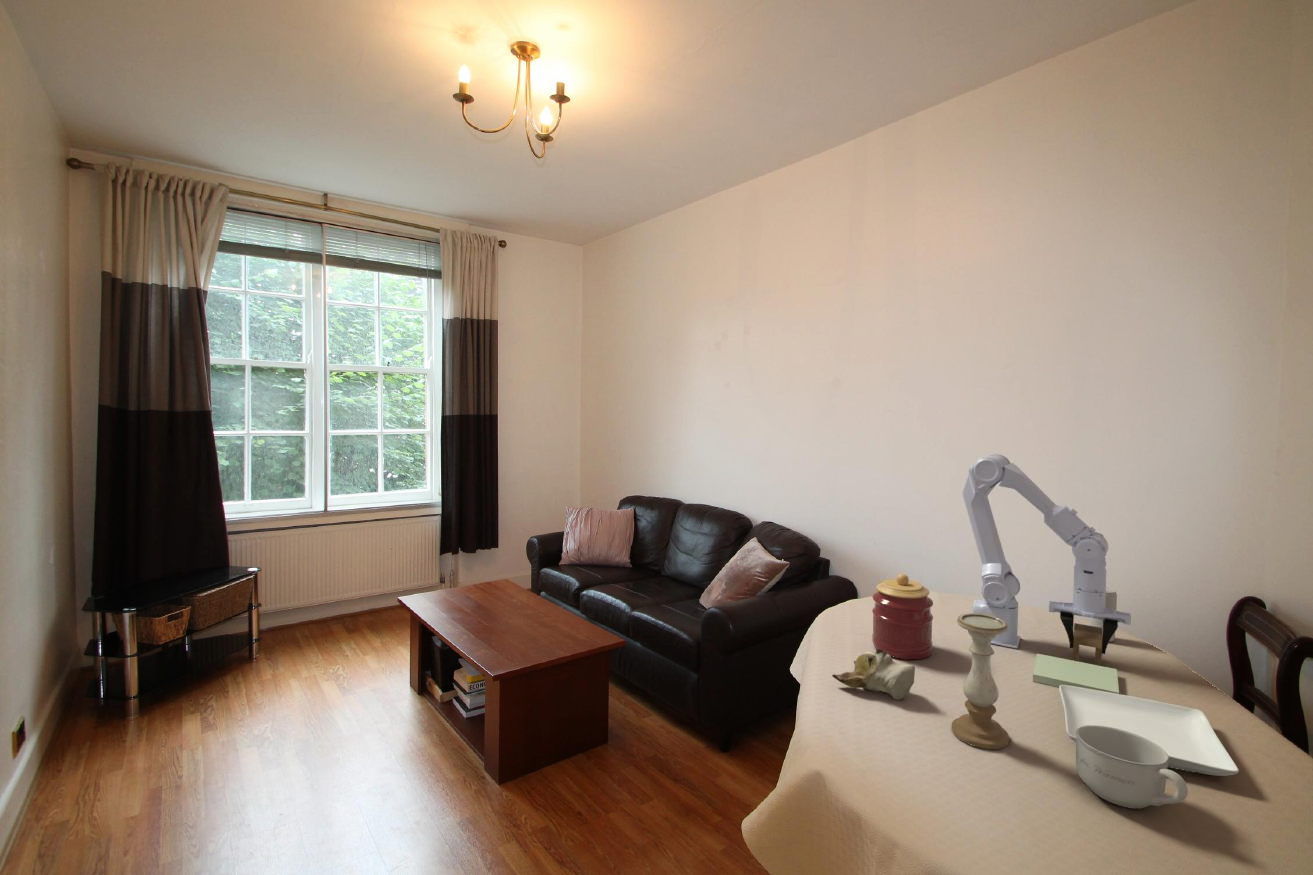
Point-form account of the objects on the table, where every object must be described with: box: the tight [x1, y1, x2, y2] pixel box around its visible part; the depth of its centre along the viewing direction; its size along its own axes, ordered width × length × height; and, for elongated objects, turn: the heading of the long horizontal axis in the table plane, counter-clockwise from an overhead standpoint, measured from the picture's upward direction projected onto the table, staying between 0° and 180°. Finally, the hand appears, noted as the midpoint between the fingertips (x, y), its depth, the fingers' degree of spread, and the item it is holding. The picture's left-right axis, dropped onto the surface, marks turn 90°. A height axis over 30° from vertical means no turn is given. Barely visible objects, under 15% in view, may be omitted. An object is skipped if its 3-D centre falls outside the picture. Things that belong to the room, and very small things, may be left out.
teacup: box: [1075, 725, 1189, 809], centre depth 87 cm, size 14×11×8 cm
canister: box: [871, 573, 934, 660], centre depth 140 cm, size 13×13×18 cm
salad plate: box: [1058, 685, 1240, 777], centre depth 103 cm, size 21×21×3 cm
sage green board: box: [1032, 653, 1120, 694], centre depth 125 cm, size 14×12×2 cm
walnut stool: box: [1072, 622, 1103, 666], centre depth 133 cm, size 5×5×7 cm
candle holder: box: [950, 612, 1010, 750], centre depth 104 cm, size 9×9×20 cm
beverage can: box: [1090, 586, 1118, 643], centre depth 144 cm, size 5×5×12 cm
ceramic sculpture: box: [831, 649, 916, 700], centre depth 121 cm, size 11×9×15 cm
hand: (1087, 649), depth 133 cm, fingers closed on walnut stool, 5 cm apart
